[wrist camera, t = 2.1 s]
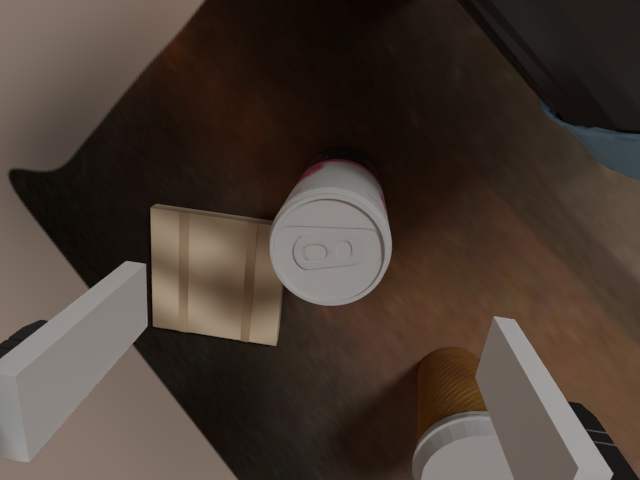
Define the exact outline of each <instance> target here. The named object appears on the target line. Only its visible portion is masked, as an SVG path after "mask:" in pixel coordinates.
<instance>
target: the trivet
mask: <svg viewBox="0 0 640 480" xmlns="http://www.w3.org/2000/svg"><path fill="white" fill-rule="evenodd" d="M273 222H274V221H271V220H264V219H257V218H251V217H244V216H237V215H230V214H223V213H216V212H209V211H202V210H196V209H189V208H182V207H175V206H168V205H161V204H156V205H154V206H152V207H151V255H152V303H153V327H159V328H166V329H172V330H178V331H181V332H191V333H197V334H204V335H210V336H216V337H223V338H229V339H235V340H241V341H244V342H254V343H261V344H267V345H273V346H276V344H277V341H278V335H279V326H280V316H281V306H282V296H283V286H284V284H283V283H282V282H281V281H280V279H279V278H278V276H277V275H276V273H275V271H274V268H273V266H272V263H271V259H270V250H269V236H270V230H271V227H272V224H273Z"/></svg>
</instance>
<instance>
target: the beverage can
mask: <svg viewBox="0 0 640 480" xmlns="http://www.w3.org/2000/svg"><path fill="white" fill-rule="evenodd" d="M269 250H270V259H271V263H272V266H273V268H274V271H275V273H276V275H277V276H278V278H279V279H280V281H281V282H282V283H283V284H284V286H285V287H286V288H287V289H288V290H290V291H291V292H292V293H293V294H295V295H296V296H298V297H300V298H301V299H304V300H306V301H308V302H311V303H315V304H319V305H327V306H336V305H343V304H348V303H351V302H354V301H356V300H358V299H360V298H362V297H364V296H365V295H367V294H368V293H369V292H371V291H372V290H373V289H374V288H375V287H376V286H377V284H378V283H379V282H380V280H381V279H382V277H383V275H384V273H385V272H386V269H387V267H388V265H389V262H390V258H391V253H392V239H391V233H390V228H389V222H388V217H387V211H386V206H385V200H384V195H383V189H382V184H381V179H380V175H379V172H378V169H377V167H376V166H375V164H374V163H373V161H372V160H371V159H370V158H369V157H368V156H367V155H365V154H364V153H362V152H361V151H358V150H356V149H353V148H349V147H333V148H329V149H327V150H324V151H322V152H321V153H319V154H318V155H316V156H315V157H314V158H313V159H312V160H311V161H310V163H309V164H308V166H307V167H306V169H305V170H304V172H303V174H302V175H301V177H300V178H299V180H298V182H297V183H296V185H295V187H294V188H293V190H292V191H291V193H290V195H289V196H288V198H287V199H286V201H285V203H284V204H283V206H282V208H281V209H280V211H279V212H278V214H277V216H276V217H275V219H274V222H273V224H272V227H271V230H270V236H269Z"/></svg>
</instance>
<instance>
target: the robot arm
mask: <svg viewBox="0 0 640 480" xmlns="http://www.w3.org/2000/svg"><path fill="white" fill-rule="evenodd" d="M457 1H458V2H459V3H460V4H461V6H462V7H463V8H464V9H465V10H466V12H467V13H468V14H469V15H470V16H471V17H472V19H473V20H474V21H475V22H476V23H477V25H478V26H479V27H480V28H481V29H482V31H483V32H484V33H485V34H486V35H487V37H488V38H489V39H490V40H491V41H492V43H493V44H494V45H495V46H496V47H497V49H498V50H499V51H500V52H501V53H502V54H503V56H504V57H505V58H506V59H507V60H508V62H509V63H510V64H511V65H512V66H513V68H514V69H515V70H516V71H517V72H518V74H519V75H520V76H521V77H522V78H523V80H524V81H525V82H526V83H527V84H528V86H529V87H530V88H531V89H532V90H533V91H534V93H535V94H536V95H537V96H538V98H539V105H540V107H541V108H542V110H543V111H544V112H545V114H546V115H547V116H548V117H549V118H550V119H551V120H552V121H554V122H555V123H557V124H558V125H560V126H562V127H564V128H565V129H567V130H568V131H569V132H570V133H571V134H572V135H573V136H574V137H575V138H576V139H577V140H578V141H579V142H580V143H581V145H582V146H583V147H584V148H585V149H586V150H587V151H588V152H589V153H590V154H591V155H592V156H593V157H594V158H595V159H596V160H597V161H598V162H600V163H601V164H603V165H604V166H606V167H607V168H609V169H612V170H616V171H618V172H620V173H622V174H624V175H626V176H628V177H630V178H634V179H638V180H640V0H457ZM146 327H147V287H146V264H143V263H136V262H130V261H126V262H124V263H123V264H122V265H120V266H119V267H118V268H117V269H115V270H114V271H113V272H111V273H110V274H109V275H108V276H106V277H105V278H104V279H102V280H101V281H100V282H99V283H97V284H96V285H95V286H93V287H92V288H91V289H90V290H88V291H87V292H86V293H85V294H83V295H82V296H81V297H79V298H78V299H77V300H75V301H74V302H73V303H72V304H70V305H69V306H68V307H66V308H65V309H64V310H63V311H61V312H60V313H59V314H57V315H56V316H55V317H54V318H52V319H51V320H50V321H45V320H39V321H37V322H35V323H32V324H30V325H27V326H25V327H23V328H21V329H20V330H19V331H17V332H16V333H14V334H13V335H12V336H10V337H9V339H8V340H5V341H4V342H2V343H1V344H0V456H1V458H2V459H8V460H14V461H20V462H26V463H30V462H31V460H32V459H33V458H34V457H35V456H36V455H37V454H38V452H39V451H40V450H41V449H42V448H43V447H44V445H45V444H46V443H47V442H48V441H49V440H50V438H51V437H52V436H53V435H54V434H55V433H56V432H57V430H58V429H59V428H60V427H61V426H62V425H63V423H64V422H65V421H66V420H67V419H68V418H69V416H70V415H71V414H72V413H73V412H74V411H75V409H76V408H77V407H78V406H79V405H80V404H81V403H82V401H83V400H84V399H85V398H86V397H87V395H88V394H89V393H90V392H91V391H92V390H93V389H94V388H95V386H96V385H97V384H98V383H99V382H100V380H101V379H102V378H103V377H104V376H105V375H106V374H107V372H108V371H109V370H110V369H111V368H112V367H113V365H114V364H115V363H116V362H117V361H118V360H119V359H120V357H121V356H122V355H123V354H124V353H125V351H126V350H127V349H128V348H129V347H130V346H131V345H132V343H133V342H134V341H135V340H136V339H137V338H138V337H139V335H140V334H141V333H142V332H143V331H144V330H145V328H146ZM475 379H476V381H477V384H478V387H479V389H480V392H481V394H482V397H483V400H484V402H485V405H486V408H487V410H488V413H489V415H490V418H491V421H492V423H493V426H494V428H495V431H496V434H497V436H498V439H499V441H500V444H501V447H502V449H503V452H504V455H505V457H506V460H507V462H508V465H509V468H510V470H511V473H512V475H513V478H514V480H639V478H638V477H637V475H636V474H635V472H634V471H633V470H632V468H631V467H630V465H629V464H628V462H627V461H626V460H625V458H624V457H623V455H622V454H621V452H620V451H619V449H618V448H617V447H616V446H614V442H613V441H612V439H611V438H610V437H609V435H608V434H606V431H605V429H604V428H603V426H602V425H601V424H600V422H599V421H598V419H597V418H596V417H595V416H594V415H593V414H592V413H591V412H590V411H588V410H587V409H586V408H585V407H584V406H583V405H581V404H580V403H574V402H568V401H566V399H565V397H564V396H563V394H562V393H561V391H560V390H559V388H558V386H557V385H556V383H555V382H554V380H553V379H552V377H551V376H550V374H549V372H548V371H547V369H546V368H545V366H544V365H543V363H542V361H541V360H540V358H539V357H538V355H537V354H536V352H535V351H534V349H533V347H532V346H531V344H530V343H529V341H528V340H527V338H526V336H525V335H524V333H523V332H522V330H521V329H520V327H519V326H518V324H517V322H516V321H515V319H508V318H502V317H495V316H494V317H493V320H492V323H491V327H490V330H489V333H488V336H487V340H486V343H485V346H484V349H483V353H482V356H481V359H480V362H479V366H478V369H477V372H476V376H475Z"/></svg>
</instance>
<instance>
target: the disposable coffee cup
mask: <svg viewBox="0 0 640 480" xmlns="http://www.w3.org/2000/svg"><path fill="white" fill-rule="evenodd" d="M479 362H480V360H479V359H478V358H477V357H476V356H475V355H474V354H472V353H471V352H469V351H467V350H465V349H461V348H452V347H448V348H442V349H439V350H436V351H434V352H432V353H430V354H429V355H427V356H426V357H425V358H424V359H423V360H422V362H421V364H420V365H419V368H418V371H417V447H416V450H415V452H414V454H413V460H412V470H413V477H414V479H415V480H514V478H513V475H512V473H511V470H510V468H509V465H508V462H507V460H506V457H505V455H504V452H503V449H502V447H501V444H500V441H499V439H498V436H497V434H496V431H495V428H494V426H493V423H492V421H491V418H490V415H489V413H488V410H487V408H486V405H485V402H484V400H483V397H482V394H481V392H480V389H479V387H478V384H477V381H476V379H475V376H476V372H477V369H478V366H479Z"/></svg>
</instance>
